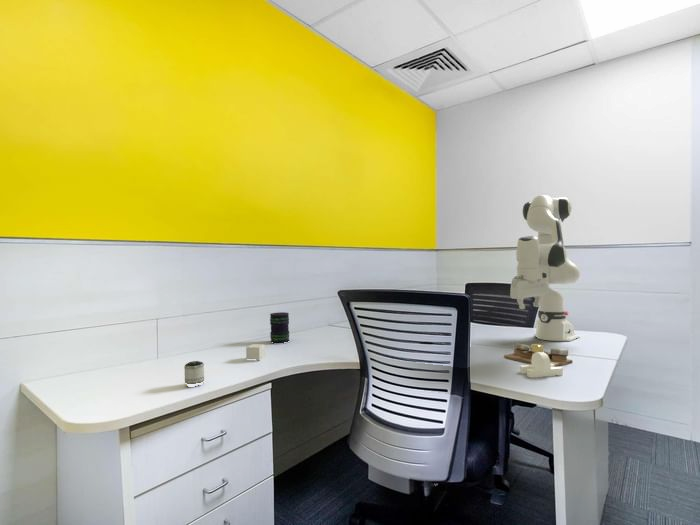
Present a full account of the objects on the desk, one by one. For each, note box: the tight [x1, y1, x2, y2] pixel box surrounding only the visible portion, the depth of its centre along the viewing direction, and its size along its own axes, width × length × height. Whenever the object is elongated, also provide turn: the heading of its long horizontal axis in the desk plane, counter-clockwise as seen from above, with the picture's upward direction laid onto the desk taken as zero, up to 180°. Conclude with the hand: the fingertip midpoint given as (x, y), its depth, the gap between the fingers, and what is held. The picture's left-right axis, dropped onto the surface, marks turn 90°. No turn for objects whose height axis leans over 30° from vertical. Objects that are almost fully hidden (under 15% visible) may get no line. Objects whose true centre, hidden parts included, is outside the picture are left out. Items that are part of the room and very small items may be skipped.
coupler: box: [530, 343, 544, 354], centre depth 156 cm, size 4×4×5 cm
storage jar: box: [269, 311, 290, 344], centre depth 202 cm, size 10×10×15 cm
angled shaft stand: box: [550, 348, 569, 362], centre depth 152 cm, size 4×6×4 cm, turn 60°
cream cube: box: [245, 343, 266, 360], centre depth 167 cm, size 6×6×6 cm
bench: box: [503, 342, 573, 367], centre depth 156 cm, size 15×20×5 cm
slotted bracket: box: [519, 351, 564, 379], centre depth 138 cm, size 13×7×8 cm, turn 101°
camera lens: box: [183, 360, 205, 384], centre depth 133 cm, size 6×6×8 cm
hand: (529, 307), depth 161 cm, fingers open, 8 cm apart
